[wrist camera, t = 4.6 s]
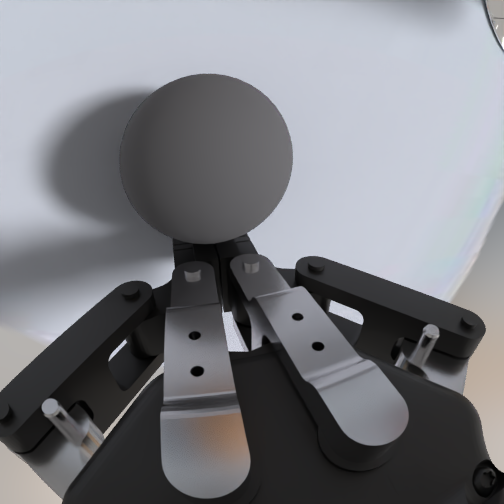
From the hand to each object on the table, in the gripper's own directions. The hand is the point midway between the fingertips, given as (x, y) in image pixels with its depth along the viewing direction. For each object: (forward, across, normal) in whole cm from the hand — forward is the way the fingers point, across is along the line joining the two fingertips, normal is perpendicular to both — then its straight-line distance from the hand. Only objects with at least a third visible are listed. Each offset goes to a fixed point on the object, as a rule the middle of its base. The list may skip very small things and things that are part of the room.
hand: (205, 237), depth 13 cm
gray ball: (-2, 0, -4) cm, 4 cm away
